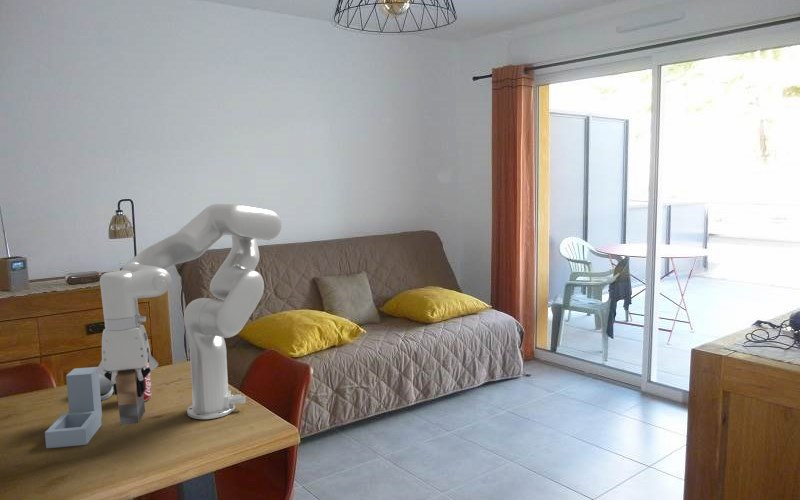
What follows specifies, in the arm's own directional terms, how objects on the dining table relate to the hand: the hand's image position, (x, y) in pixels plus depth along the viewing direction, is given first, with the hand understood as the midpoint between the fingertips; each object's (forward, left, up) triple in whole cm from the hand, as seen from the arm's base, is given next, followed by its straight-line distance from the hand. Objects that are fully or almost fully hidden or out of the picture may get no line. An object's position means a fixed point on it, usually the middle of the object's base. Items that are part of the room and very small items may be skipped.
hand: (130, 395), depth 144 cm
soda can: (+6, -30, -12) cm, 33 cm away
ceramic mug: (+17, -38, -12) cm, 43 cm away
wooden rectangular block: (0, 0, -6) cm, 6 cm away
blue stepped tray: (+16, -10, -12) cm, 22 cm away
